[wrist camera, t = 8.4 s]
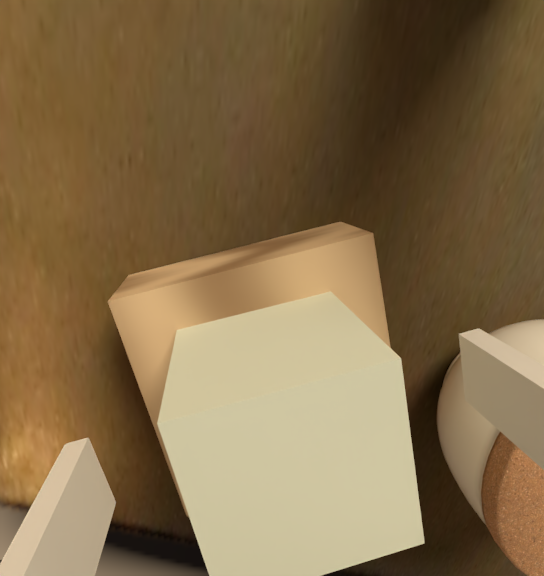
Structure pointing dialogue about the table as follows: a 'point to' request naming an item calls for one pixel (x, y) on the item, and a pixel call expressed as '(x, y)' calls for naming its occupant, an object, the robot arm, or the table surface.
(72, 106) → the table surface
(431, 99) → the table surface
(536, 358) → the lidded jar
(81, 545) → the robot arm
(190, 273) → the plinth
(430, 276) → the table surface
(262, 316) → the cube
